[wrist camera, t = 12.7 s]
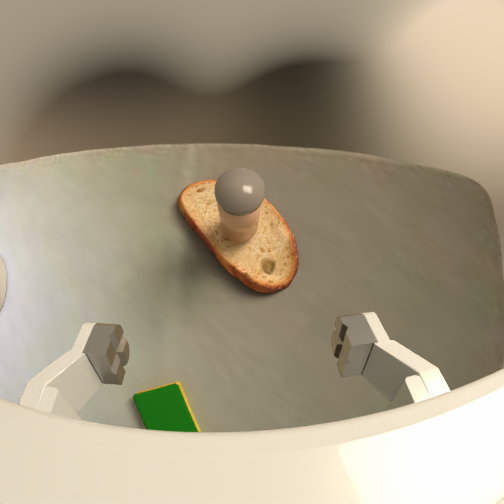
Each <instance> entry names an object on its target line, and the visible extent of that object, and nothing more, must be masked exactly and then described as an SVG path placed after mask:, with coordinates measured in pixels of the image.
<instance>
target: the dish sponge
mask: <svg viewBox="0 0 504 504" xmlns="http://www.w3.org/2000/svg"><path fill="white" fill-rule="evenodd" d="M133 398H134V400H135V403H136V405H137V408H138V410H139V413H140V415H141V417H142V420H143V422H144V424H145V427H146V429H147V430H159V431H174V432H201V430H200V428H199V426H198V424H197V421H196V419H195V417H194V414H193V412H192V410H191V407H190V405H189V402H188V400H187V398H186V395H185V393H184V390H183V388H182V385H181V383H180V382H174V383H171V384H167V385H163V386H160V387H156V388H152V389H149V390H145V391H141V392H138V393H136V394H134V397H133Z"/></svg>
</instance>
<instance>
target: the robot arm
mask: <svg viewBox="0 0 504 504" xmlns="http://www.w3.org/2000/svg"><path fill="white" fill-rule="evenodd" d="M6 285H7V277H6V269H5V265H4V262H3V259H2V258H1V256H0V310H1V308H2V305H3V302H4V299H5V294H6ZM335 327H336V330H334V331H333V332H332V337H331V347H332V351H333V355H334V356H335V357H336V358H338V362H337V367H338V370H339V373H340V375H341V378H342V377H349V376H356V375H362V377H363V378H365V379H366V380H367V381H368V382H369V383H370V384H371V385H372V386H373V387H375V388H376V389H377V390H378V391H379V392H380V393H381V394H382V395H383V396H385V397H386V398H387V399H388V400H389V401H390V402H391V404H390V406H389V407H388V409H387V410H386V411H383V412H379V413H375V414H371V415H366V416H362V417H357V418H352V419H347V420H342V421H336V422H330V423H324V424H318V425H311V426H303V427H295V428H286V429H276V430H264V431H248V432H174V431H159V430H147V429H137V428H128V427H120V426H113V425H106V424H100V423H94V422H89V421H83V420H82V419H81V418H80V417H79V415H78V414H77V412H78V411H79V410H80V409H81V408H82V407H83V406H84V405H85V404H86V402H87V401H88V400H89V399H90V398H91V397H92V396H93V395H94V394H95V393H96V391H97V390H98V389H99V388H100V387H101V386H102V385H103V384H102V383H104V384H117V385H122V382H123V378H124V374H125V370H124V368H123V366H125V365H126V364H127V363H128V360H129V345H128V342H127V340H126V339H125V338H124V337H123V336H122V335H123V330H122V327H121V325H118V324H103V323H85V324H83V326H82V328H81V330H80V332H79V335H78V337H77V339H76V341H75V343H74V345H73V347H72V350H71V352H69V351H68V352H66V353H65V354H64V355H62V356H61V357H60V358H58V359H57V360H56V361H54V362H53V363H52V364H50V365H49V366H48V367H46V368H45V369H44V370H43V371H41V372H40V373H39V374H37V375H36V376H35V377H34V378H32V379H31V380H30V381H29V382H28V384H27V386H26V389H25V391H24V393H23V396H22V398H21V400H20V403H19V404H16V403H13V402H10V401H7V400H4V399H2V398H0V504H504V368H503V369H501V370H499V371H497V372H495V373H493V374H491V375H488V376H486V377H484V378H482V379H479V380H477V381H474V382H472V383H470V384H467V385H465V386H462V387H460V388H457V389H454V390H452V391H450V389H449V387H448V386H447V384H446V382H445V380H444V378H443V376H442V375H441V373H440V371H439V369H438V368H437V367H436V366H434V365H432V364H431V363H429V362H428V361H426V360H424V359H423V358H421V357H420V356H418V355H416V354H415V353H413V352H412V351H410V350H408V349H407V348H405V347H404V346H402V345H400V344H399V343H397V342H396V341H394V340H391V341H390V339H389V337H388V336H387V334H386V332H385V330H384V328H383V326H382V324H381V323H380V321H379V319H378V317H377V315H376V314H375V313H374V312H369V313H362V314H354V315H345V316H337V318H336V319H335Z"/></svg>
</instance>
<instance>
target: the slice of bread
mask: <svg viewBox="0 0 504 504" xmlns="http://www.w3.org/2000/svg"><path fill="white" fill-rule="evenodd" d="M216 181H217V180H203V181H199V182H196V183H193V184H190V185H189V186H187V187H186V188H185V189H184V190H183V191H182V192H181V194H180V196H179V199H178V206H179V208H180V209H181V212H182V214H183V215H184V217H185V219H186V221H187V222H188V223H189V225H190V226H191V228H192V229H193V230H194V231H195V232H196V234H197V235H198V236H199V237H200V239H201V240H202V241H203V243H204V244H205V245H206V246H207V248H208V249H209V250H210V252H211V253H212V254H213V255H214V257H215V258H216V259H217V260H218V261H219V262H220V263H221V265H222V266H223V267H224V268H225V269H226V270H227V271H228V272H229V273H230V274H231V275H232V276H234V277H236V278H238V279H239V280H240V281H241V282H242V283H244V284H245V285H247V286H248V287H250V288H251V289H253V290H255V291H257V292H263V293H271V292H276V291H279V290H282V289H285V288H287V287H288V286H289V285H290V284H291V282H292V280H293V278H294V277H295V275H296V273H297V270H298V251H297V244H296V240H295V237H294V235H293V233H292V231H291V230H290V228H289V226H288V225H287V223H286V221H285V220H284V219H283V218H282V216H281V215H280V214H279V213H278V212H277V210H276V209H275V208H274V206H273V205H271V204H270V203H269V202H268V201H267V200H266V199H263V202H262V206H261V212H260V218H259V223H258V229H257V232H256V234H255V235H254V236H253V237H252V238H251V239H250V240H248V241H245V242H233V241H231V240H229V239H228V238H227V237H226V236H225V235H224V234H223V232H222V229H221V223H220V217H219V211H218V205H217V202H216V198H215V192H214V189H215V184H216Z"/></svg>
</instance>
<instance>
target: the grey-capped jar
mask: <svg viewBox="0 0 504 504" xmlns="http://www.w3.org/2000/svg"><path fill="white" fill-rule="evenodd" d="M214 192H215V198H216V202H217V205H218V211H219V217H220V223H221V229H222V232H223V234H224V235H225V236H226V237H227V238H228V239H229V240H231V241H233V242H245V241H248V240H250V239H251V238H252V237H253V236H254V235H255V234H256V232H257V229H258V223H259V218H260V212H261V206H262V202H263V199H264V194H265V186H264V183H263V181H262V179H261V178H260V176H259V175H258V174H257V173H255V172H254V171H252V170H249V169H246V168H233V169H230V170H228V171H226V172H224V173H223V174H222V175H221V176H220V177H219V178H218V180H217V181H216V184H215V189H214Z"/></svg>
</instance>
